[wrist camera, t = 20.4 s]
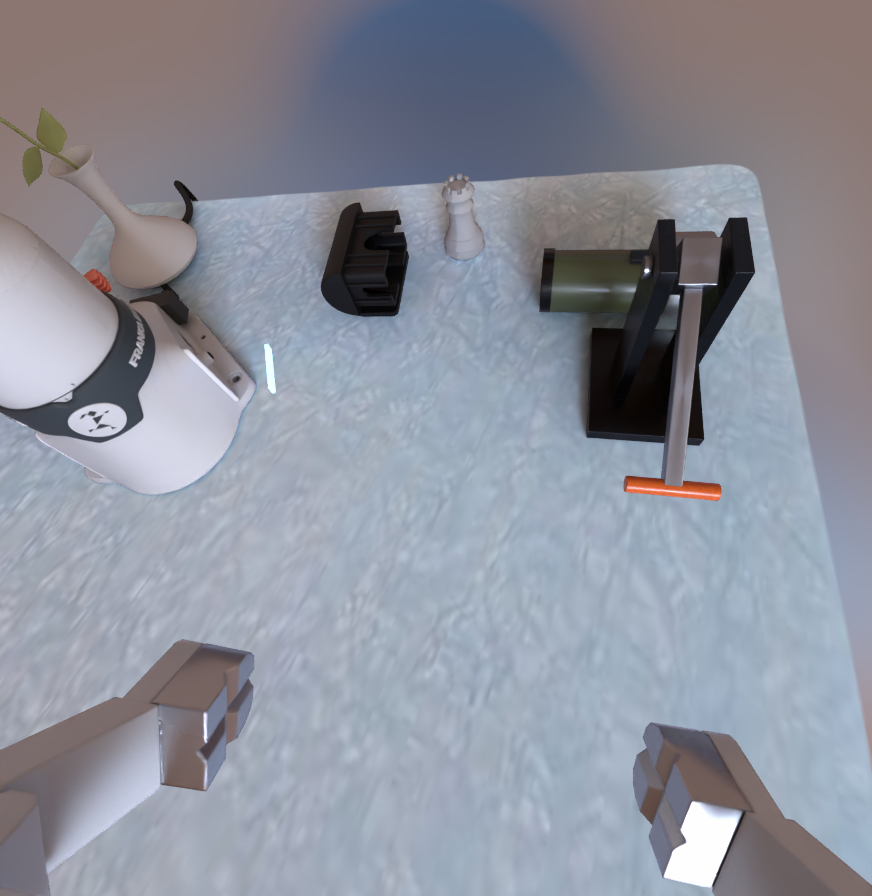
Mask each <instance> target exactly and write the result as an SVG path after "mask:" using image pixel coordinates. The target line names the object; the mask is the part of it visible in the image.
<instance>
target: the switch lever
mask: <svg viewBox="0 0 872 896" xmlns="http://www.w3.org/2000/svg"><path fill="white" fill-rule="evenodd" d="M722 240H723V238H722V237H713V238H683V239H682V240H681V241H680V243H679V244H678V245H677V264H678V274H677V276H676V279H675V281H674V283H673V286H672V288H671V291H670V293H669V295H680V297H679V307H678V317H677V327H676V336H675V346H674V356H673V366H672V376H671V385H670V395H669V405H668V415H667V424H666V434H665V444H664V454H663V463H662V473H661V479H658V478H647V477H635V476H626V477H625V479H624V491H625V492H631V493H641V494H652V495H662V496H673V497H683V498H694V499H704V500H715V501H718V500H719V499H720V497H721V486H720V485H719V484H715V483H703V482H692V481H683V476H684V466H685V457H686V448H687V438H688V429H689V419H690V410H691V400H692V391H693V382H694V372H695V363H696V353H697V344H698V334H699V325H700V315H701V306H702V297H703V295H705V294H706V293H707V292H709V291H710V290H711V289H713V288H714V287H715V286H716V285H717V284H718V277H719V268H720V258H721V249H722Z"/></svg>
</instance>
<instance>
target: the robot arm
mask: <svg viewBox="0 0 872 896" xmlns="http://www.w3.org/2000/svg"><path fill="white" fill-rule="evenodd" d="M174 185H175V187H176V188H177V190H178V191H179V193H180V194H181V196H182V197H183V199H184V201H185V204H186V213H185V215H184V217H183V219H182V221H183V222H185V223H186V224H189V222H190V220H191V217H192V214H193V206H192V202H191V201H198V200H197V198H196V197H195V196H194V195H193V194H192V193H191V192H190V190H189V189H188V188H187V187H186V186H185V185H184V184H182V183H181V182H179V181H175V182H174ZM160 286H161V287H162V289H163V290H164V291H162V292H161V293H158V294H154V295H150V296H146V297H142V298H138V299H134V300H131V301H130V304H127V303H126V302H124V301H122V300H121V299H120V300H119V299H117V298H115V297H114V296H112V295H111V294H108V292H110V291H111V290H112V288H111V286H110V284H109V282H108V281H107V280H106V278H105V277H104V276H103V275H102V274H101V273H99V272H98V271H97V270H95V269H92V270H90V271H89V272H87V273H86V274H85V275H84V276H83V275H82V274H81V273H79V272H78V271H77V270H76V269H75V268H74V267H73V266H71V265H70V264H69V263H68V262H67V261H66V260H65V259H64V258H62V257H61V256H60V255H59V254H58V253H57V252H56V251H55V250H53V249H52V248H51V247H50V246H49V245H48V244H46V243H45V242H44V241H43V240H42V239H41V238H40V237H39V236H38V235H37V234H35V233H34V232H33V231H32V230H31V229H29V228H28V227H27V226H25V225H24V224H22V223H20V222H18V221H17V220H15V219H12V218H10V217H8V216H6V215H4V214H1V213H0V412H1V413H3V414H4V415H6V416H7V417H8V418H9V419H11V420H13V421H15V422H17V423H19V424H21V425H23V426H25V427H27V426H28V427H30V428H32V429H34V430H36V434H35V435H36V437H37V438H38V439H39V440H40V441H41V442H43V443H45V444H46V445H48V446H50V447H51V448H53V449H55V450H57V451H58V452H60V453H62V454H64V455H65V456H67V457H69V458H70V459H72V460H74V461H76V462H78V463H79V464H81V465H83V466H85V475H86V477H87V478H89V479H91V480H92V481H94V482H97V483H117V484H120V485H123V486H124V487H126V488H128V489H130V490H132V491H134V492H137V493H141V494H149V495H155V494H164V493H169V492H172V491H175V490H178V489H181V488H183V487H185V486H187V485H189V484H191V483H193V482H194V481H196V480H198V479H199V478H200V477H202V476H203V475H204V474H206V473H207V472H208V471H209V470H210V469H211V468H212V467H213V466H214V465H215V464H216V463H217V462H218V461H219V460H220V459H221V458H222V456H223V455H224V454H225V452H226V451H227V449H228V448H229V446H230V444H231V442H232V440H233V438H234V436H235V433H236V430H237V427H238V423H239V419H240V416H241V413H242V411H243V409H244V407H245V406H246V405H247V403H248V402H249V400H250V399H251V397H252V396H253V394H254V392H255V389H256V384H255V382H254V380H253V379H252V378H251V377H250V376H249V375H248V373H247V372H246V371H245V370H244V369H243V368H242V367H241V365H240V364H239V363H238V362H237V361H236V360H235V358H234V357H233V356H232V355H231V354H230V353H229V352H228V350H227V349H226V348H225V347H224V346H223V345H222V343H221V342H220V341H219V340H218V339H217V338H216V336H215V335H214V334H213V333H212V332H211V331H210V330H209V328H208V327H207V326H206V325H205V324H204V323H203V322H202V320H201V319H200V318H198V317H197V316H196V315H195V314H194V313H191V312H189V309H188V308H187V307H186V306H185V305H184V304H183V303H182V302H181V301H180V300H179V297H178V295H177V294H176V293H175V292H174V291H173V290H172V289H171V288H170V287H169V286H168V285H167V283H165V284H163V285H160ZM265 356H266V367H267V379H268V389H269V390H270V391H271V392H272V393H275V381H274V371H273V361H272V350H271V348H270V346H269V345H268V344H265ZM238 380H239V381H238ZM237 381H238V382H237ZM253 670H254V655H253V654H252V653H251V652H247V651H242V650H237V649H232V648H227V647H222V646H217V645H212V644H207V643H206V644H204V643H199V642H194V641H189V640H185V639H182V640H180V641H178V642H176V643H174V644H173V646H172V647H171V648H170V649H169V650H168V651H167V652H166V653H165V654H164V655H163V656H162V657H161V658H160V659H159V660H158V661H157V662H156V663H155V665H154V666H153V667H152V668H151V669H150V670H149V671H148V672H147V673H146V674H145V675H144V676H143V677H142V678H141V679H140V680H139V681H138V682H137V683H136V685H135V686H134V687H133V688H132V689H131V690H130V691H129V692H128V693H127V694H126V695H125V696H124V697H123V698H118V697H114V698H112V699H110V700H108V701H105V702H103V703H101V704H99V705H97V706H95V707H92V708H90V709H88V710H86V711H84V712H82V713H79V714H77V715H75V716H73V717H71V718H69V719H67V720H64V721H62V722H60V723H58V724H56V725H54V726H51V727H49V728H47V729H45V730H43V731H41V732H38V733H36V734H34V735H32V736H30V737H28V738H25V739H23V740H21V741H19V742H17V743H15V744H12V745H10V746H8V747H6V748H4V749H2V750H0V896H51V895H50V888H49V880H48V873H49V872H51V871H52V870H53V869H55V868H56V867H57V866H58V865H60V864H61V863H62V862H64V861H65V860H66V859H68V858H69V857H70V856H72V855H73V854H74V853H75V852H77V851H78V850H79V849H81V848H82V847H83V846H85V845H86V844H87V843H89V842H90V841H91V840H93V839H94V838H95V837H96V836H98V835H99V834H100V833H102V832H103V831H104V830H106V829H107V828H108V827H110V826H111V825H112V824H113V823H115V822H116V821H117V820H119V819H120V818H121V817H123V816H124V815H125V814H127V813H128V812H129V811H131V810H132V809H133V808H134V807H136V806H137V805H138V804H140V803H141V802H142V801H144V800H145V799H146V798H148V797H149V796H150V795H151V794H153V793H154V792H155V791H157V790H158V789H159V788H160V787H161V785H167V786H174V787H180V788H187V789H193V790H200V791H207V790H208V788H209V786H210V784H211V783H212V781H213V779H214V777H215V776H216V774H217V772H218V771H219V769H220V767H221V765H222V764H223V762H224V760H225V759H226V745H227V744H228V743H230V742H231V741H233V740H235V739H236V738H238V736H239V734H240V732H241V730H242V729H243V727H244V725H245V722H246V720H247V717H248V714H249V712H250V709H251V704H252V699H253V685H252V684H251V682H250V681H249V679H248V678H249V676H250V674H251V673H252V671H253ZM643 739H644V742H645V744H646V747H647V748H646V749H645V750H643V751H642V752H640V753H639V754H638V755H637V757H636V760H635V764H634V768H633V786H634V792H635V798H636V801H637V804H638V807H639V810H640V812H641V813H642V814H643V815H644V816H645V818H646V819H647V820H648V821H649V822H650V823H651V824H652V828H651V831H650V834H649V839H650V842H651V845H652V848H653V851H654V854H655V856H656V859H657V862H658V865H659V868H660V871H661V874H662V877H663V878H666V879H671V880H675V881H680V882H684V883H689V884H693V885H698V886H702V887H707V888H711V889H713V890H712V892H713V894H714V895H715V896H872V885H871V884H869V883H868V882H867V881H866V880H865V879H863V878H862V877H861V876H860V875H859V874H857V873H856V872H855V871H854V870H853V869H851V868H850V867H849V866H848V865H847V864H846V863H844V862H843V861H842V860H841V859H840V858H838V857H837V856H836V855H835V854H834V853H832V852H831V851H830V850H829V849H828V848H826V847H825V846H824V845H823V844H822V843H820V842H819V841H818V840H817V839H816V838H815V837H813V836H812V835H811V834H810V833H809V832H807V831H806V830H805V829H804V828H803V827H801V826H800V825H799V824H798V823H797V822H795V821H794V820H790V819H785V817H784V816H783V814H782V813H781V811H780V809H779V808H778V806H777V805H776V803H775V802H774V800H773V798H772V797H771V795H770V794H769V792H768V791H767V789H766V787H765V786H764V784H763V783H762V781H761V780H760V778H759V776H758V775H757V773H756V772H755V770H754V769H753V767H752V765H751V764H750V762H749V761H748V759H747V758H746V756H745V754H744V753H743V751H742V750H741V748H740V747H739V745H738V743H737V742H736V741H735V739H733V738H732V737H731V736H730V735H728V734H721V733H715V732H709V731H699V730H694V729H688V728H682V727H676V726H670V725H664V724H658V723H652V722H651V723H650V724H649V725H648V726H647V727H646V729H645V732H644V735H643Z"/></svg>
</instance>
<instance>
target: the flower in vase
mask: <svg viewBox="0 0 872 896" xmlns="http://www.w3.org/2000/svg"><path fill="white" fill-rule="evenodd" d="M0 121H1V122H2V123H4V124H5V125H7V126H9V127H10V128H12V129H13V130H14V131H16V132H17V133H19V134H20V135H22V136H23V137H24V138H26V139H27V140H28V141H30V142H31V143H33V144H34V145H36V146H37V147H32V148H29V149H27V150H26V152H25V154H24V157H23V173H24V177H25V179H26V182H27V184H28V186H30V184H31V183H32V182H33V181H35V180H36V179H37V178H38V177H39V176H40V175H41V173H42V159H41V154H40V151H39V148H41V149H42V150H44V151H46V152H48V153H50V154H52V155H54V156H56V157H55V158H54V159H53V160H52V162H51V163H50V165H49V169H48V171H49V173H50V174H51V175H52V176H54V177H56V178H59V179H62V180H65V181H67V182H69V183H71V184H72V185H74V186H76V187H77V188H79V189H80V190H81V191H83V192H84V193H85V194H86V195H87V196H88V197H90V198H91V199H92V200H93V201H94V202H95V203H96V204H97V205H98V206H99V207H100V208H101V209H102V210H103V211H104V212H105V214H106V215H107V216H108V217H109V218H110V220H111V221H112V223H113V225H114V227H115V236H114V240H113V244H112V248H111V252H110V269H111V272H112V274H113V276H114V278H115V279H116V281H117V282H118V283H120V284H121V285H123V286H125V287H129V288H133V289H150V288H154V287H158V286H160V285H163V284H165V283H167V282H169V281H171V280H172V279H174V278H175V277H177V276H178V275H179V274H180V273H182V272H183V271H184V270H185V269H186V268H187V266H188V265H189V264H190V263H191V261H192V260H193V258H194V256H195V253H196V250H197V237H196V233H195V231H194V230H193V228H192V227H191V226H189V225H188V224H186V223H185V222H183V221H182V220H179V219H176V218H171V217H166V216H145V215H138V214H136V213H134V212H132V211H131V210H130V209H128V208H127V207H126V206H125V205H124V204H123V203H122V202H121V201H120V199H119V198H118V197H117V196H116V195H115V193H114V192H113V191H112V189H111V188H110V187H109V185H108V184H107V182H106V181H105V179H104V178H103V176H102V174H101V173H100V170H99V168H98V166H97V163H96V159H95V152H94V149H93V147H91V146H90V145H86V144H81V145H76V146H72V147H70V148H68V149H66V150H64V151H62V152H61V153H60V154H58V153H59V152H60V151H61V150H62V148H63V146H64V143H65V141H66V138H67V134H66V131H65V130H64V128H63V127H62V126H61V125H60V123H59V122H58V121H57V120H56V119H55V118H54V117H53V116H52V115H50V114H49V113H48V112H47V111H46V110H45V109H44V108H41V113H40V119H39V124H38V128H37V138H38V140H39V141H40V142H41V143H42V144H43V145H44V146H45V147H44V146H42V145H41V144H39V143H37V142H36V141H34V140H33V139H31V138H30V137H28V136H27V135H26V134H24V133H23V132H22V131H20V130H19V129H18V128H16V127H15V126H13V125H12V124H10V123H9V122H7V121H6V120H4V119H3V118H1V117H0ZM38 147H39V148H38ZM46 147H47V148H46Z"/></svg>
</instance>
